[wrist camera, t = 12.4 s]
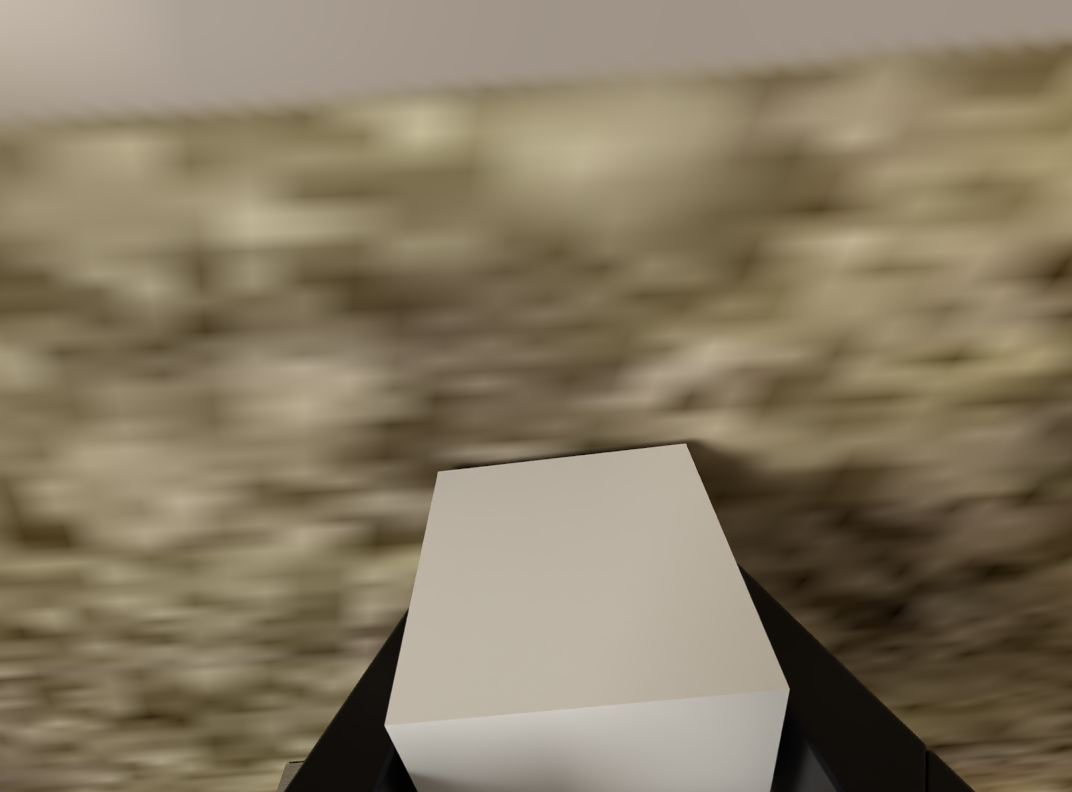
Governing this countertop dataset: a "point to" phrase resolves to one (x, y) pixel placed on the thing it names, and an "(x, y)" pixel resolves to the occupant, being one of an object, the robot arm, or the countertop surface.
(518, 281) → the countertop surface
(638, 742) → the multicoloured u-shaped piece
